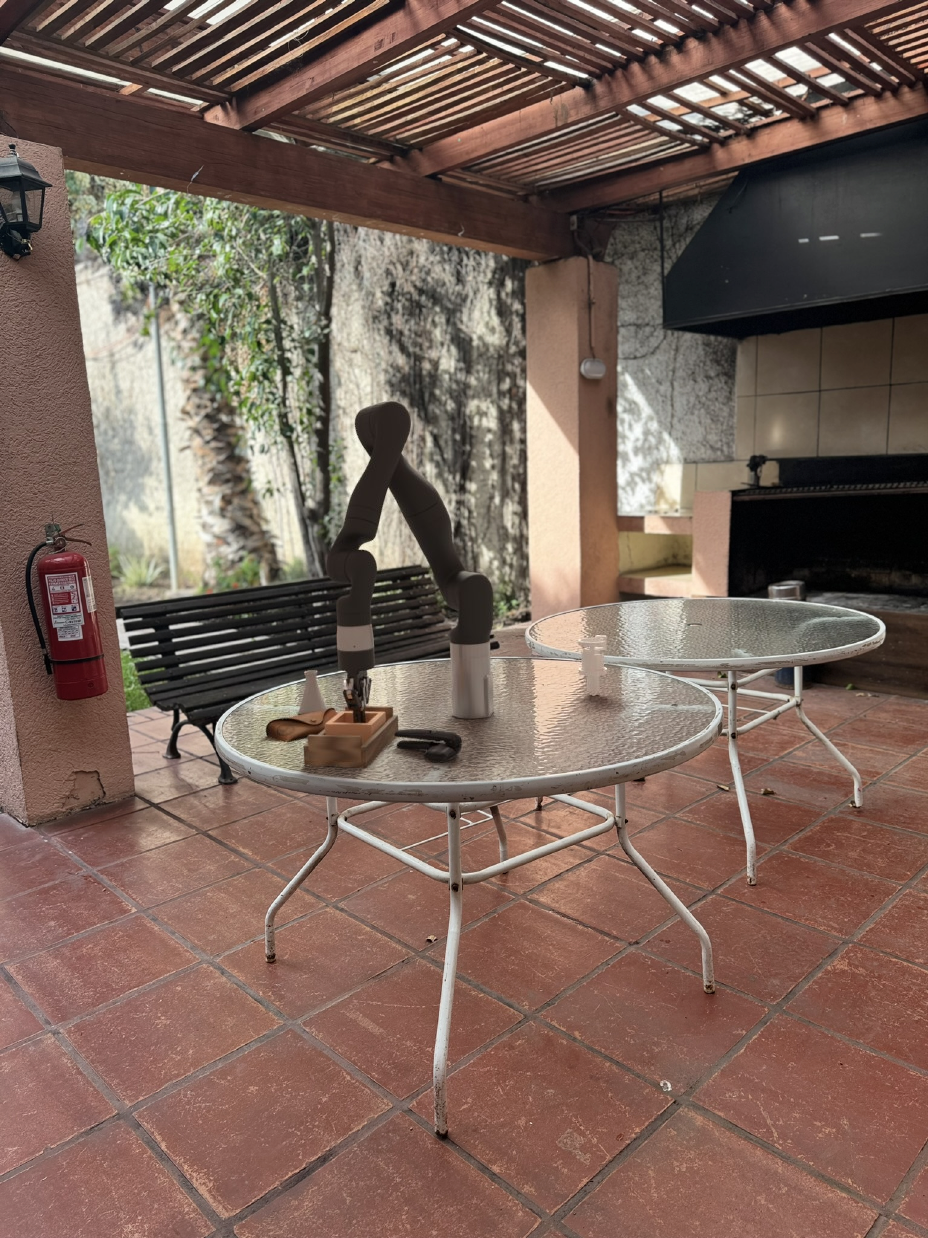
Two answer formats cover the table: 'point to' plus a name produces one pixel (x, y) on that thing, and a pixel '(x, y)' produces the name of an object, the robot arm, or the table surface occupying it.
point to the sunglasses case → (299, 725)
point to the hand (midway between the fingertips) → (359, 727)
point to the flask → (312, 695)
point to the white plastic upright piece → (593, 660)
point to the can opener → (431, 743)
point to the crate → (355, 725)
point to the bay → (350, 744)
